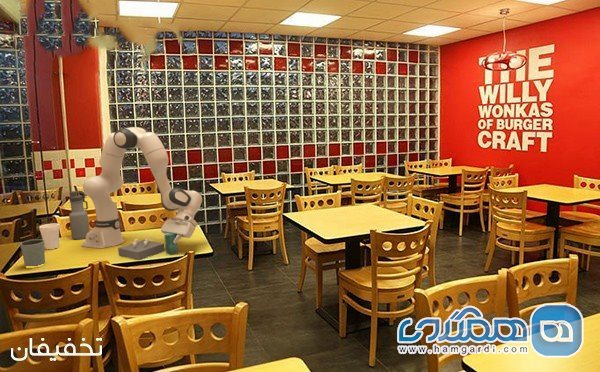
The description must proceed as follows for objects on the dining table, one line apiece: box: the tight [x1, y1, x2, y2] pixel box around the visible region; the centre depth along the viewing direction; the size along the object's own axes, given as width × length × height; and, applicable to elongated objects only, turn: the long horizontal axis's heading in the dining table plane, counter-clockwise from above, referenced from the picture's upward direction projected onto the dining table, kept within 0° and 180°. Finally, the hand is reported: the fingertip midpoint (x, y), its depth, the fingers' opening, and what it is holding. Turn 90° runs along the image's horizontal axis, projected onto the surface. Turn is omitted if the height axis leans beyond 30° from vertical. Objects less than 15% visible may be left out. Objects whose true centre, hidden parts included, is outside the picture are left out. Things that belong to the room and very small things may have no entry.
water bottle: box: [68, 190, 90, 241], centre depth 267 cm, size 10×10×28 cm
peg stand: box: [117, 237, 166, 261], centre depth 233 cm, size 16×16×7 cm
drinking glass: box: [20, 238, 46, 267], centre depth 220 cm, size 10×10×12 cm
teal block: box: [164, 233, 179, 256], centre depth 231 cm, size 4×4×10 cm
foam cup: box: [38, 222, 60, 250], centre depth 248 cm, size 10×9×13 cm
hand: (170, 242), depth 230 cm, fingers closed on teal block, 4 cm apart
